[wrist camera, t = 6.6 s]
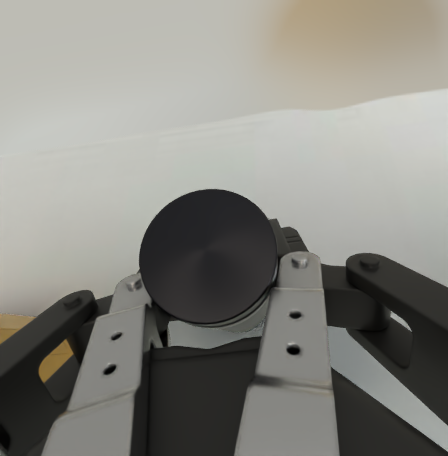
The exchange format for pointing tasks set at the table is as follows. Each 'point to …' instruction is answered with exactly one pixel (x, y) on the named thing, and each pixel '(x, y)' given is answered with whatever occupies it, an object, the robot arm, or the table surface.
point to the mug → (10, 323)
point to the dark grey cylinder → (210, 260)
